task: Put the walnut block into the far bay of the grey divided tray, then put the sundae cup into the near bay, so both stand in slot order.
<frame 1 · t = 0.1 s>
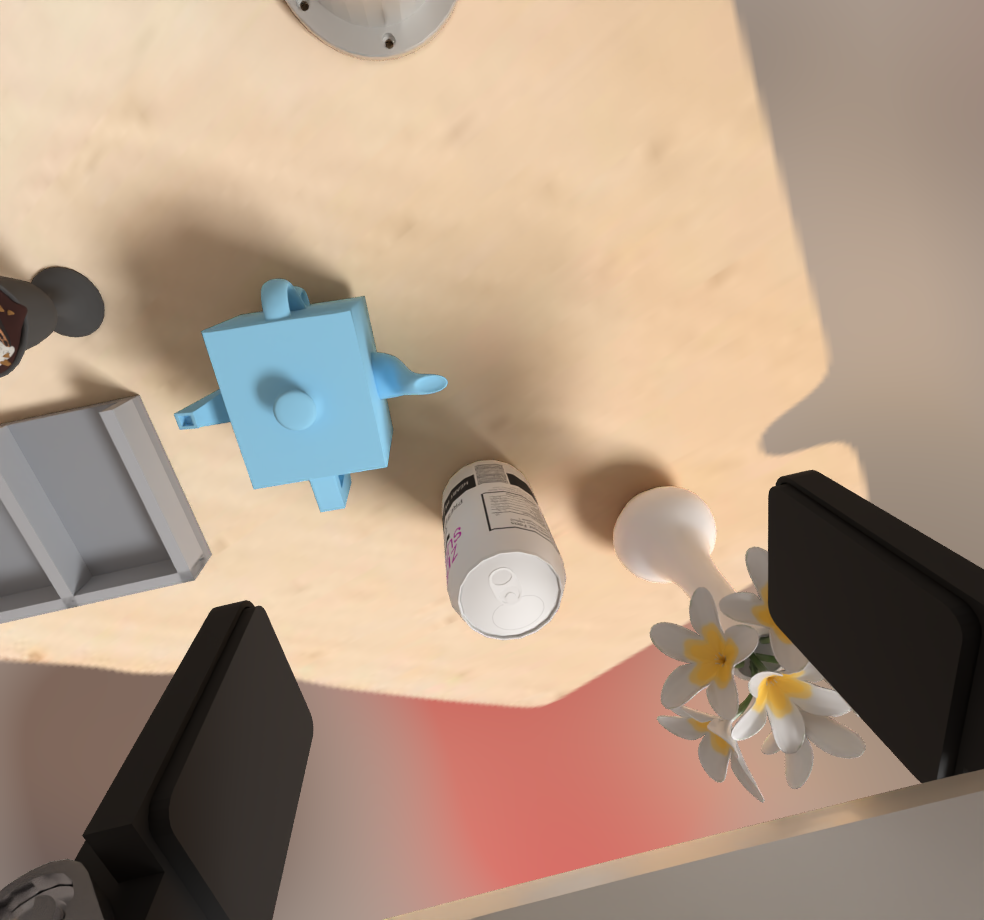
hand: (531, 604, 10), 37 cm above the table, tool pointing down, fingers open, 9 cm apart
sundae: (69, 303, 40), on the table
soda can: (486, 497, 50), on the table
teapot: (333, 372, 45), on the table
flower vase: (648, 509, 53), on the table
grey divided tray: (58, 505, 46), on the table
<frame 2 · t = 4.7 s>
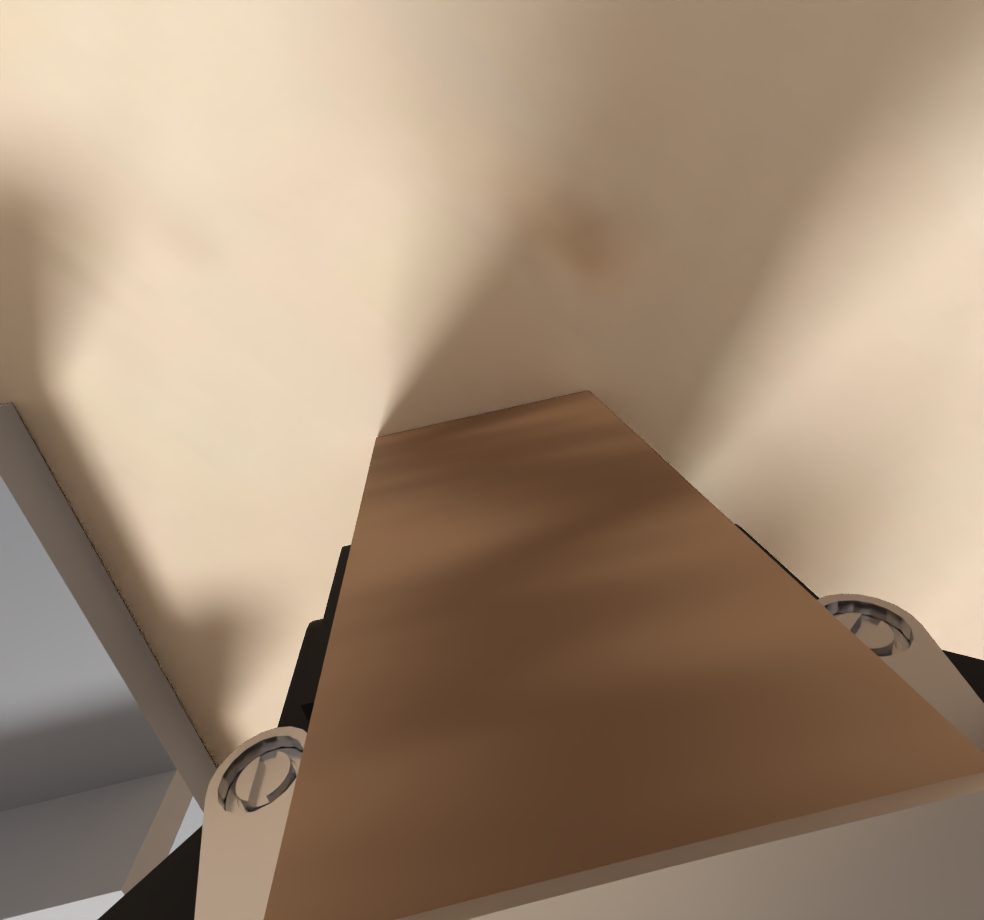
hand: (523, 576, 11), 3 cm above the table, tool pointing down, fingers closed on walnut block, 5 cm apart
walnut block: (503, 508, 14), on the table, touching gripper
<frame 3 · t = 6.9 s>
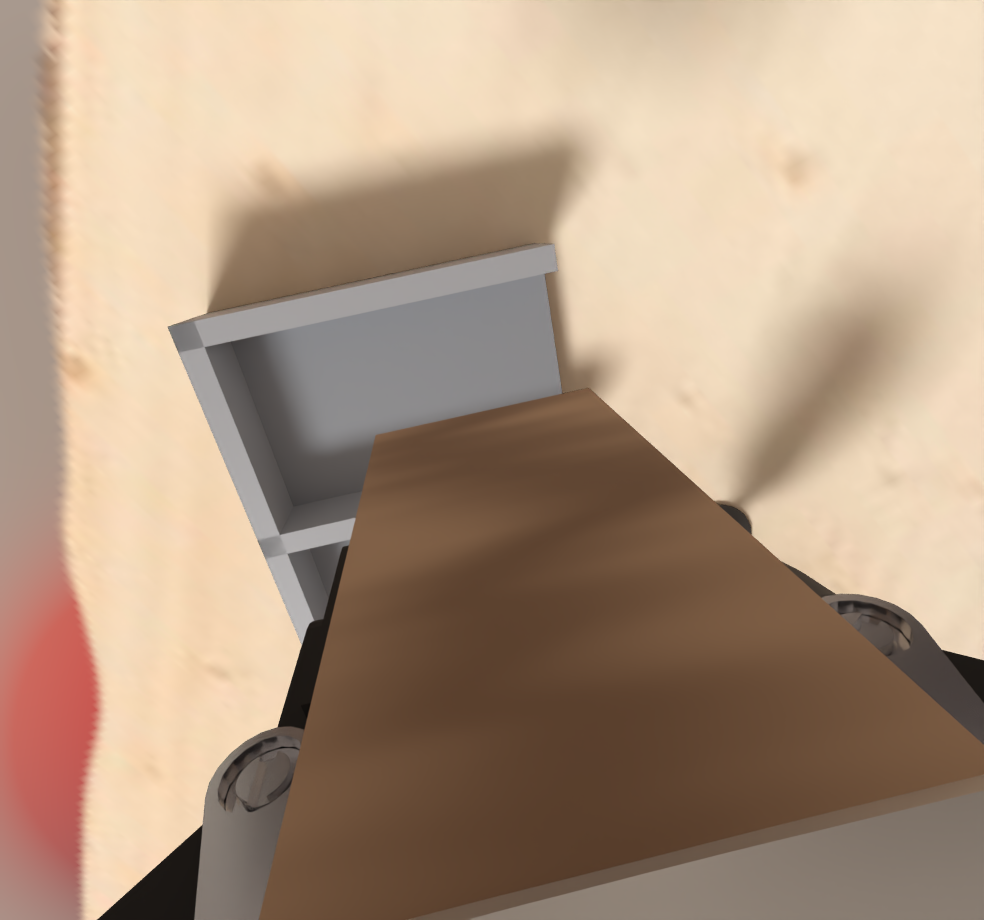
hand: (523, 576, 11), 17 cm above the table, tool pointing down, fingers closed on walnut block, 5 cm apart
sundae: (707, 539, 32), on the table
walnut block: (502, 506, 14), point 14 cm above the table, touching gripper
grey divided tray: (425, 476, 28), on the table
when the fingers open (6 cm above the table, at t = 9.4 s): walnut block drops 1 cm, resting on grey divided tray.
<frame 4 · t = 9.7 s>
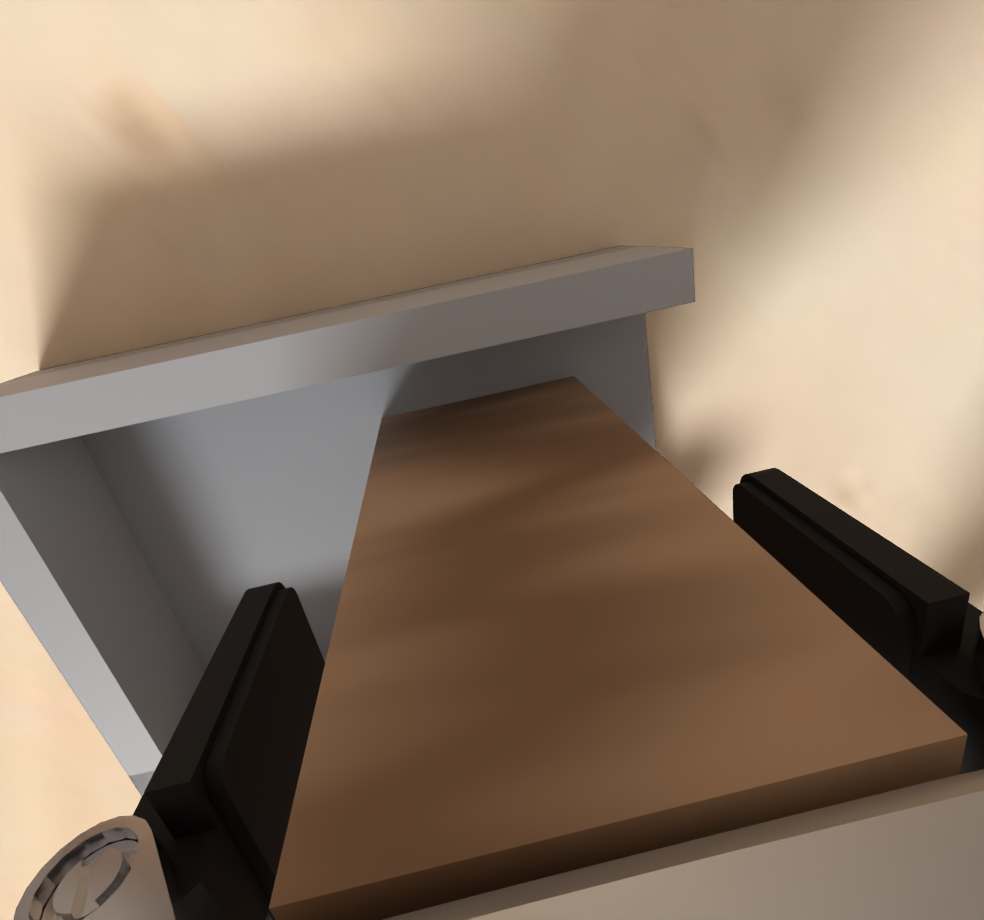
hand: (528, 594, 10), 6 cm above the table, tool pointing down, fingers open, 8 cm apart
walnut block: (496, 484, 15), point 1 cm above the table, touching grey divided tray
grey divided tray: (428, 619, 18), on the table
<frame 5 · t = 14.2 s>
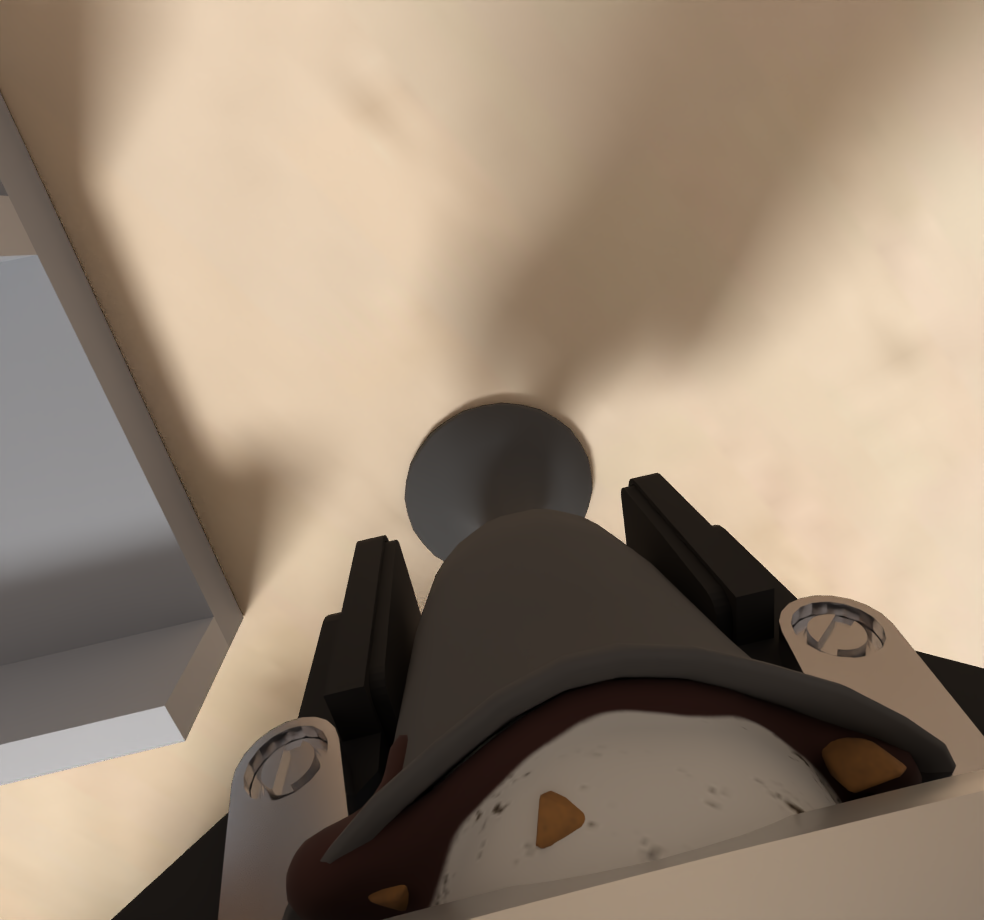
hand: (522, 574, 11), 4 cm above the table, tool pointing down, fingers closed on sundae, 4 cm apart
sundae: (497, 488, 15), on the table, touching gripper
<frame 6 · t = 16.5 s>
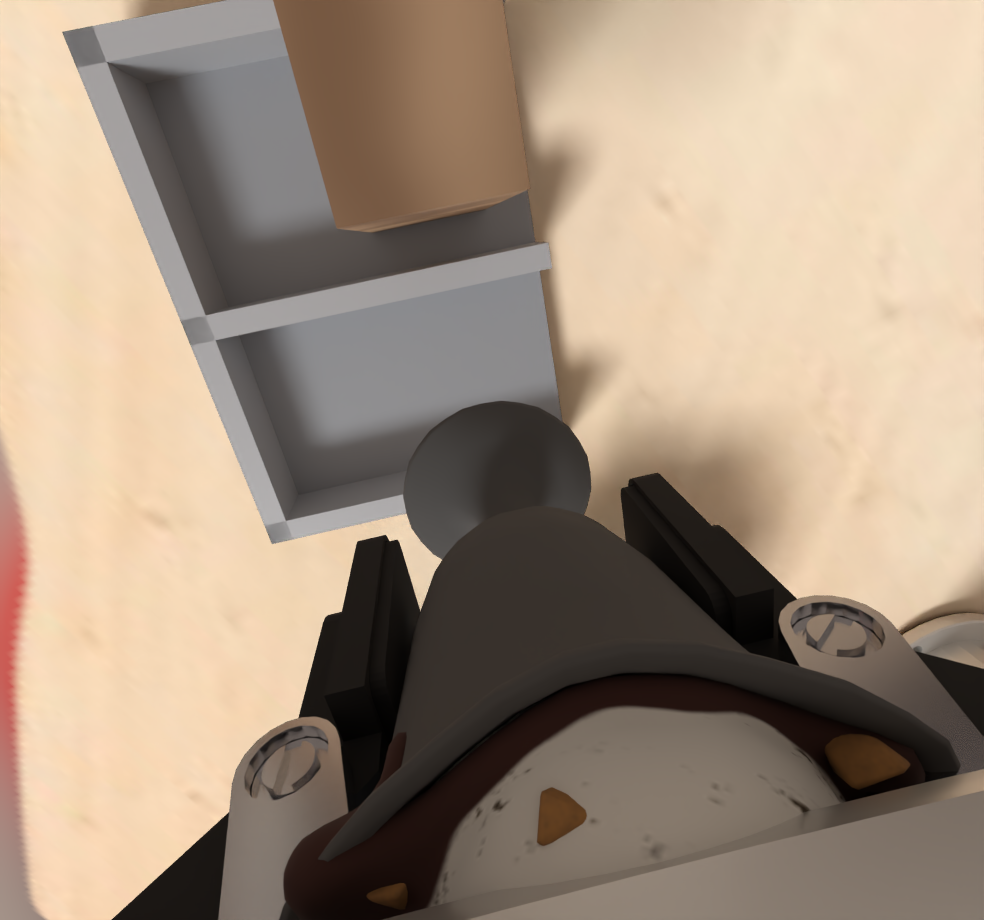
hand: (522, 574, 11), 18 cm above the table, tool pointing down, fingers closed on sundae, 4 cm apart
sundae: (495, 486, 15), point 14 cm above the table, touching gripper
walnut block: (415, 157, 23), point 1 cm above the table, touching grey divided tray
grey divided tray: (377, 286, 26), on the table
when the fingers open (6 cm above the table, at t = 18.9 s): sundae drops 1 cm, resting on grey divided tray.
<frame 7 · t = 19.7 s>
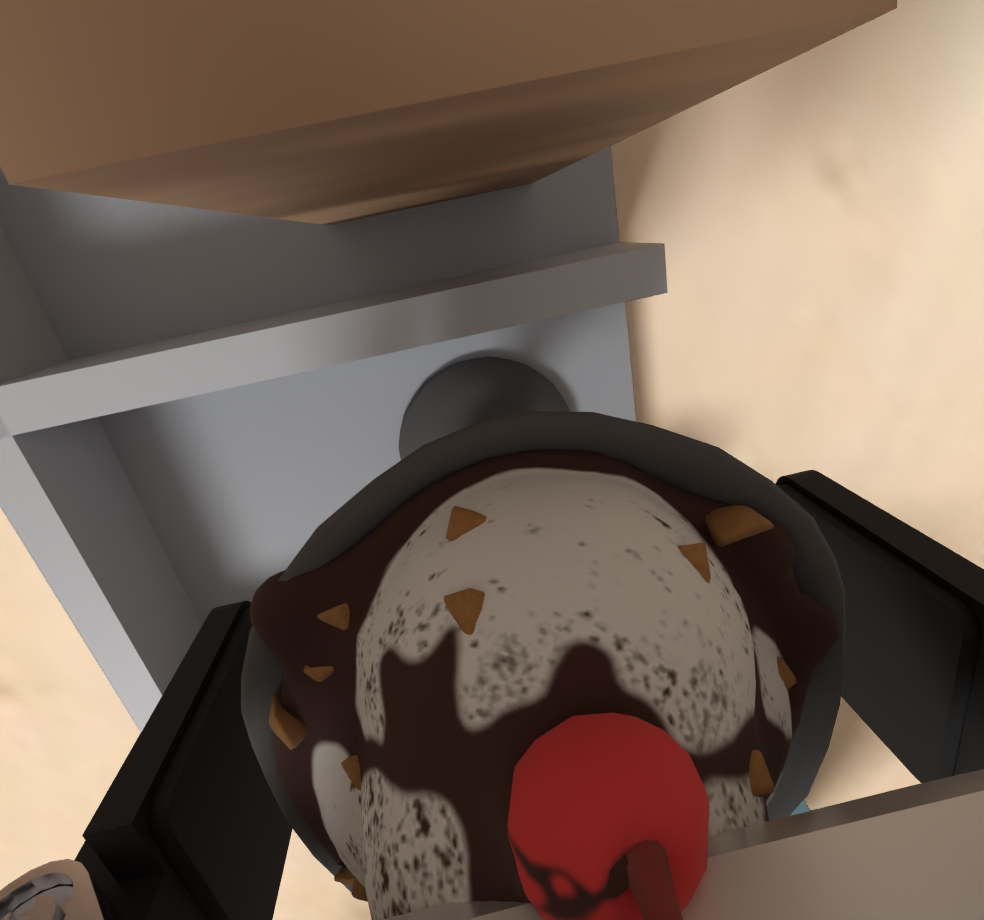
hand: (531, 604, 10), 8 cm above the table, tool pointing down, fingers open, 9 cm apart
sundae: (485, 441, 16), point 1 cm above the table, touching grey divided tray
walnut block: (405, 81, 12), point 1 cm above the table, touching grey divided tray
grey divided tray: (341, 317, 15), on the table
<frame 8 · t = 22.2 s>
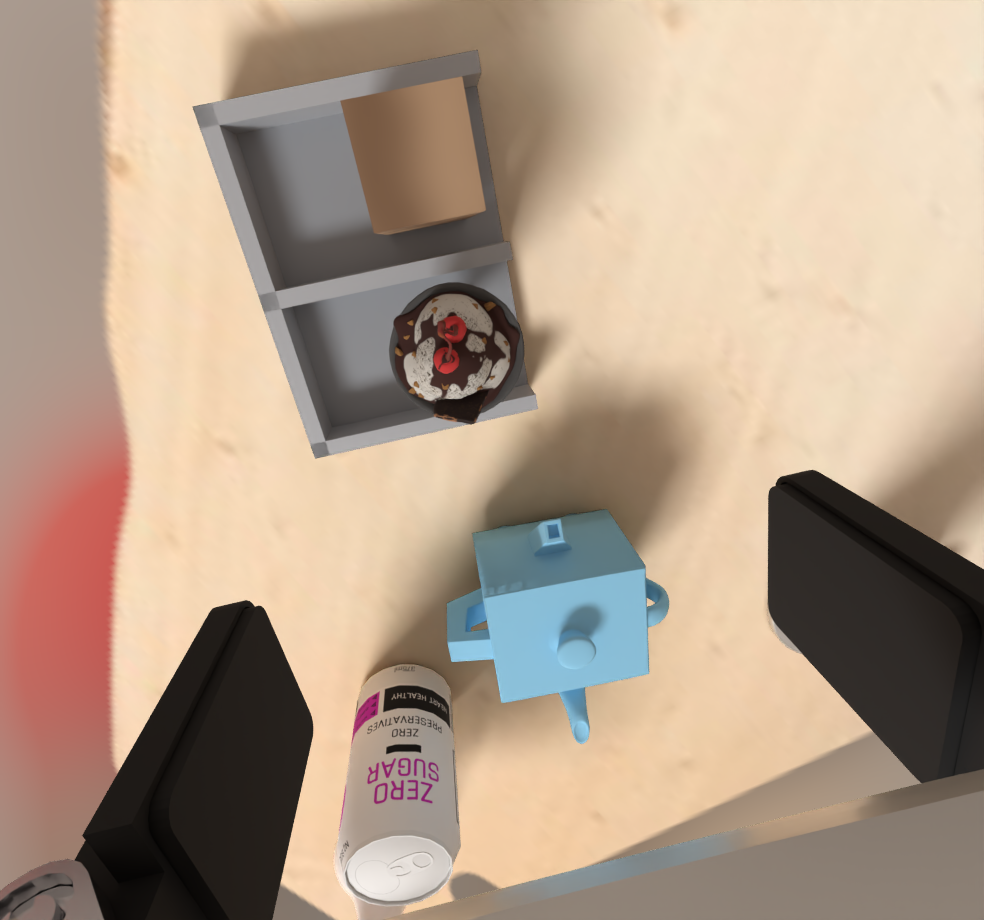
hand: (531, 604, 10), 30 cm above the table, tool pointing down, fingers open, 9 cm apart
sundae: (451, 326, 37), point 1 cm above the table, touching grey divided tray
soda can: (405, 692, 49), on the table
teapot: (539, 565, 46), on the table
flower vase: (394, 815, 55), on the table
walnut block: (418, 182, 33), point 1 cm above the table, touching grey divided tray
grey divided tray: (390, 273, 36), on the table
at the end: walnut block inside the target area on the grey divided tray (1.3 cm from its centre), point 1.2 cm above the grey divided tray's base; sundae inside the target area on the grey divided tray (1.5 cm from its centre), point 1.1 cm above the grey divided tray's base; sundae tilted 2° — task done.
